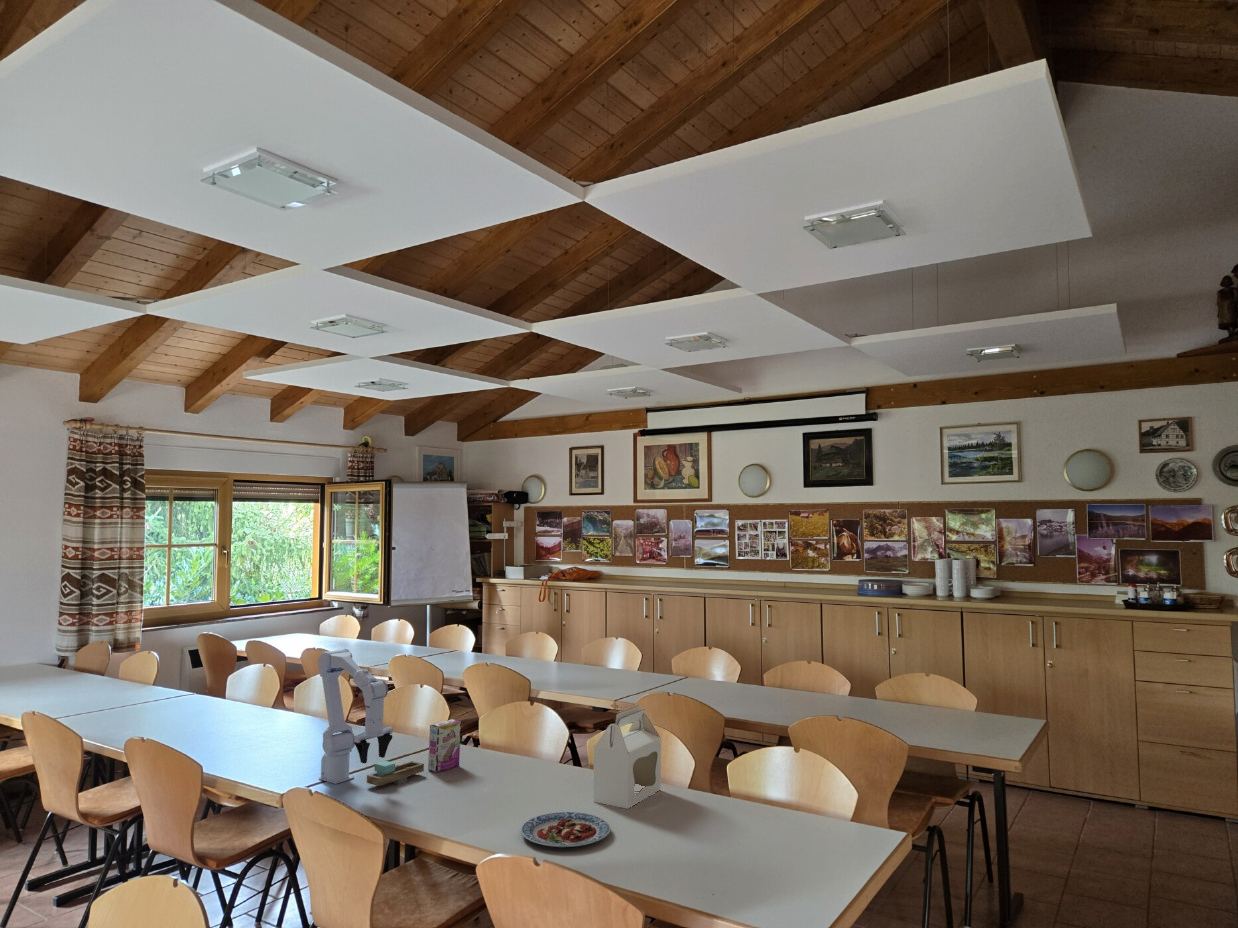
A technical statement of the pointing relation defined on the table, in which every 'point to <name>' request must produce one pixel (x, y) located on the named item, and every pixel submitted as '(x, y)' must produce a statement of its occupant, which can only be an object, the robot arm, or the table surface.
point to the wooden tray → (397, 774)
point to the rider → (384, 768)
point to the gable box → (627, 761)
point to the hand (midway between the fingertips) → (372, 759)
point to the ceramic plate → (565, 829)
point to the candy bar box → (444, 745)
